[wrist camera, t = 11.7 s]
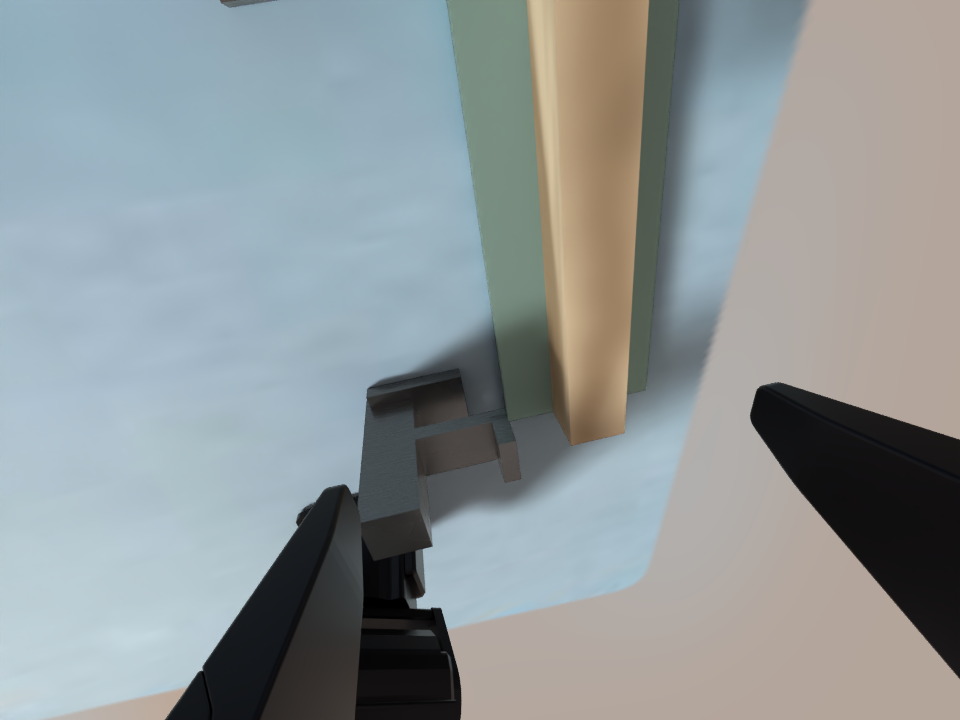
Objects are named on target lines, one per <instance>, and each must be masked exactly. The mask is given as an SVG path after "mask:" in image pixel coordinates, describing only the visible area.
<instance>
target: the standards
mask: <svg viewBox="0 0 960 720" xmlns="http://www.w3.org/2000/svg"><path fill="white" fill-rule="evenodd" d="M220 1H221V3H222V4H224V5H226V6H227V7H236V6H242V5H249V4H255V3H262V2H268V1H275V0H220ZM367 400H368V401H367V403H366V415H365V426H364V438H363V450H362V461H361V473H360V484H359V496H358V510H359V513H360V519H361V535H362V537H363V539H364V541H365V543H366V545H367V548H368V550H369V552H370V554H371V556H372V558H373V560H374V561H376V560H380V559H384V558H388V557H392V556H396V555H400V554H404V553H408V552H412V551H416V550H420V549H424V548H428V547H432V546H433V545H432V534H431V522H430V511H429V500H428V489H427V478H426V476H428V475H432V474H437V473H441V472H445V471H449V470H454V469H458V468H462V467H466V466H470V465H475V464H479V463H483V462H487V461H492V460H496V459H498V461H499V465H500V468H501V471H502V475H503V478H504V482H505V483H506V482H511V481H515V480H519V479H521V474H520V467H519V460H518V452H517V445H516V440H515V437H514V434H513V431H512V429H511V426H510V423H509V420H508V417H507V415H506V412H505V409H504V408H502V409H498V410H494V411H489V412H485V413H481V414H476V415H472V416H468V411H467V406H466V401H465V397H464V392H463V387H462V382H461V377H460V373H459V369H455V370H451V371H446V372H442V373H437V374H433V375H428V376H423V377H419V378H414V379H410V380H405V381H401V382H396V383H392V384H387V385H383V386H378V387H373V388H369V389H367Z"/></svg>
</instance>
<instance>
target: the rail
mask: <svg viewBox="0 0 960 720" xmlns="http://www.w3.org/2000/svg"><path fill="white" fill-rule="evenodd" d="M526 1H527V16H528V32H529V47H530V63H531V78H532V94H533V109H534V124H535V140H536V155H537V171H538V186H539V201H540V217H541V232H542V248H543V263H544V279H545V294H546V309H547V325H548V340H549V356H550V371H551V387H552V402H553V412H554V414H555V416H556V418H557V420H558V422H559V423H560V425H561V427H562V429H563V431H564V433H565V435H566V437H567V439H568V441H569V443H570V445H571V446H572V445H577V444H581V443H585V442H589V441H593V440H598V439H602V438H606V437H610V436H615V435H619V434H623V433H625V417H626V399H627V382H628V364H629V346H630V328H631V311H632V293H633V275H634V257H635V240H636V222H637V204H638V186H639V169H640V151H641V133H642V116H643V98H644V80H645V62H646V45H647V27H648V9H649V0H526Z"/></svg>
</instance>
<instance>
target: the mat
mask: <svg viewBox="0 0 960 720" xmlns="http://www.w3.org/2000/svg"><path fill="white" fill-rule="evenodd" d="M447 7H448V14H449V21H450V28H451V34H452V41H453V48H454V55H455V62H456V69H457V76H458V83H459V90H460V97H461V104H462V111H463V118H464V124H465V131H466V138H467V145H468V152H469V159H470V166H471V173H472V180H473V187H474V194H475V201H476V207H477V214H478V221H479V228H480V235H481V242H482V249H483V256H484V263H485V270H486V277H487V284H488V291H489V297H490V304H491V311H492V318H493V325H494V332H495V339H496V346H497V353H498V360H499V367H500V374H501V381H502V387H503V394H504V401H505V408H506V415H507V417H508V420H509V422H510V421H514V420H518V419H523V418H527V417H531V416H536V415H540V414H544V413H549V412H553V402H552V387H551V371H550V356H549V340H548V325H547V309H546V294H545V279H544V263H543V248H542V232H541V217H540V201H539V186H538V171H537V155H536V140H535V124H534V109H533V94H532V78H531V63H530V47H529V32H528V16H527V1H526V0H447ZM678 8H679V0H649V9H648V27H647V45H646V62H645V80H644V98H643V116H642V133H641V151H640V169H639V186H638V204H637V222H636V240H635V257H634V275H633V293H632V311H631V328H630V346H629V364H628V382H627V394H631V393H635V392H640V391H644V390H646V382H647V370H648V359H649V347H650V335H651V324H652V312H653V300H654V289H655V277H656V265H657V254H658V242H659V230H660V218H661V207H662V195H663V183H664V172H665V160H666V148H667V137H668V125H669V113H670V102H671V90H672V78H673V67H674V55H675V43H676V32H677V20H678Z"/></svg>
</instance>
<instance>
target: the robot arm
mask: <svg viewBox="0 0 960 720" xmlns="http://www.w3.org/2000/svg"><path fill="white" fill-rule="evenodd" d="M750 419H751V422H752V424H753V426H754V428H755V429H756V431H757V432H758V434H759V435H760V436H761V438H762V439H763V441H764V442H765V444H766V445H767V446H768V448H769V449H770V451H771V452H772V453H773V455H774V456H775V458H776V459H777V461H778V462H779V464H780V465H781V466H782V468H783V469H784V471H785V472H786V474H787V475H788V476H789V478H790V479H791V480H792V482H793V483H794V484H795V486H796V487H797V488H798V489H799V491H800V492H801V493H802V494H803V495H804V497H805V498H806V499H807V500H808V501H809V502H810V504H811V505H812V506H813V507H814V508H815V510H816V511H817V512H818V513H819V514H820V515H821V517H822V518H823V519H824V520H825V521H826V522H827V524H828V525H829V526H830V527H831V528H832V529H833V530H834V532H835V533H836V534H837V535H838V536H839V538H840V539H841V540H842V541H843V542H844V543H845V545H846V546H847V547H848V548H849V549H850V551H851V552H852V553H853V554H854V555H855V556H856V558H857V559H858V560H859V561H860V562H861V563H862V565H863V566H864V567H865V568H866V569H867V571H868V572H869V573H870V574H871V575H872V576H873V578H874V579H875V580H876V581H877V582H878V583H879V585H880V586H881V587H882V588H883V589H884V591H885V592H886V593H887V594H888V595H889V596H890V598H891V599H892V600H893V601H894V602H895V604H896V605H897V606H898V607H899V608H900V609H901V611H902V612H903V613H904V614H905V615H906V616H907V618H908V619H909V620H910V621H911V622H912V623H913V625H914V626H915V627H916V628H917V629H918V631H919V632H920V633H921V634H922V635H923V636H924V638H925V639H926V640H927V641H928V642H929V643H930V645H931V646H932V647H933V648H934V649H935V651H936V652H937V653H938V654H939V655H940V656H941V657H942V659H943V660H944V661H945V662H946V663H947V665H948V666H949V667H950V668H951V669H952V670H953V671H954V673H955V674H956V675H957V676H958V678H959V679H960V440H959V439H956V438H953V437H950V436H946V435H944V434H940V433H937V432H934V431H931V430H928V429H925V428H922V427H918V426H915V425H912V424H909V423H906V422H903V421H900V420H896V419H893V418H890V417H887V416H884V415H880V414H878V413H875V412H871V411H868V410H865V409H862V408H859V407H856V406H852V405H849V404H846V403H843V402H840V401H837V400H834V399H831V398H828V397H824V396H821V395H818V394H815V393H812V392H809V391H806V390H803V389H799V388H796V387H793V386H790V385H787V384H784V383H779V382H777V383H771V384H767V385H763V386H760V387H759V388H758V389H757V391H756V394H755V398H754V402H753V406H752V409H751V413H750ZM296 523H297V525H298V528H297V530H296V531H295V533H294V534H293V536H292V537H291V539H290V540H289V541H288V543H287V544H286V546H285V547H284V549H283V550H282V552H281V553H280V554H279V556H278V557H277V559H276V560H275V562H274V563H273V565H272V566H271V568H270V569H269V570H268V572H267V573H266V575H265V576H264V578H263V579H262V581H261V582H260V584H259V585H258V586H257V588H256V589H255V591H254V592H253V594H252V595H251V597H250V598H249V599H248V601H247V602H246V604H245V605H244V607H243V608H242V610H241V611H240V613H239V614H238V615H237V617H236V618H235V620H234V621H233V623H232V624H231V626H230V627H229V628H228V630H227V631H226V633H225V634H224V636H223V637H222V639H221V640H220V642H219V643H218V644H217V646H216V647H215V649H214V650H213V652H212V653H211V655H210V656H209V658H208V659H207V660H206V662H205V663H204V665H203V667H202V669H203V671H199V672H198V673H197V675H196V676H195V678H194V679H193V680H192V682H191V683H190V685H189V686H188V688H187V689H186V691H185V692H184V694H183V695H182V696H181V698H180V699H179V701H178V702H177V704H176V705H175V706H174V708H173V709H172V710H171V712H170V713H169V715H168V716H167V718H166V719H165V720H460V718H461V685H460V677H459V672H458V668H457V664H456V661H455V658H454V654H453V650H452V646H451V642H450V639H449V635H448V631H447V628H446V624H445V621H444V617H443V613H442V610H441V608H431V609H417V601H416V598H420V597H423V595H424V593H425V579H424V564H423V549H420V550H416V551H412V552H408V553H404V554H400V555H396V556H392V557H388V558H384V559H380V560H376V561H374V560H373V558H372V556H371V554H370V552H369V550H368V548H367V545H366V543H365V541H364V539H363V537H362V535H361V519H360V513H359V510H358V499H353V497H352V494H351V492H350V490H349V488H348V487H347V486H346V485H344V484H342V485H338V486H333V487H329V488H326V489H325V490H324V491H323V492H322V494H321V495H320V496H319V498H318V499H317V501H316V502H315V504H314V505H313V507H312V508H311V510H308V511H304V512H301V513H299V514H298V516H297V521H296Z"/></svg>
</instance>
